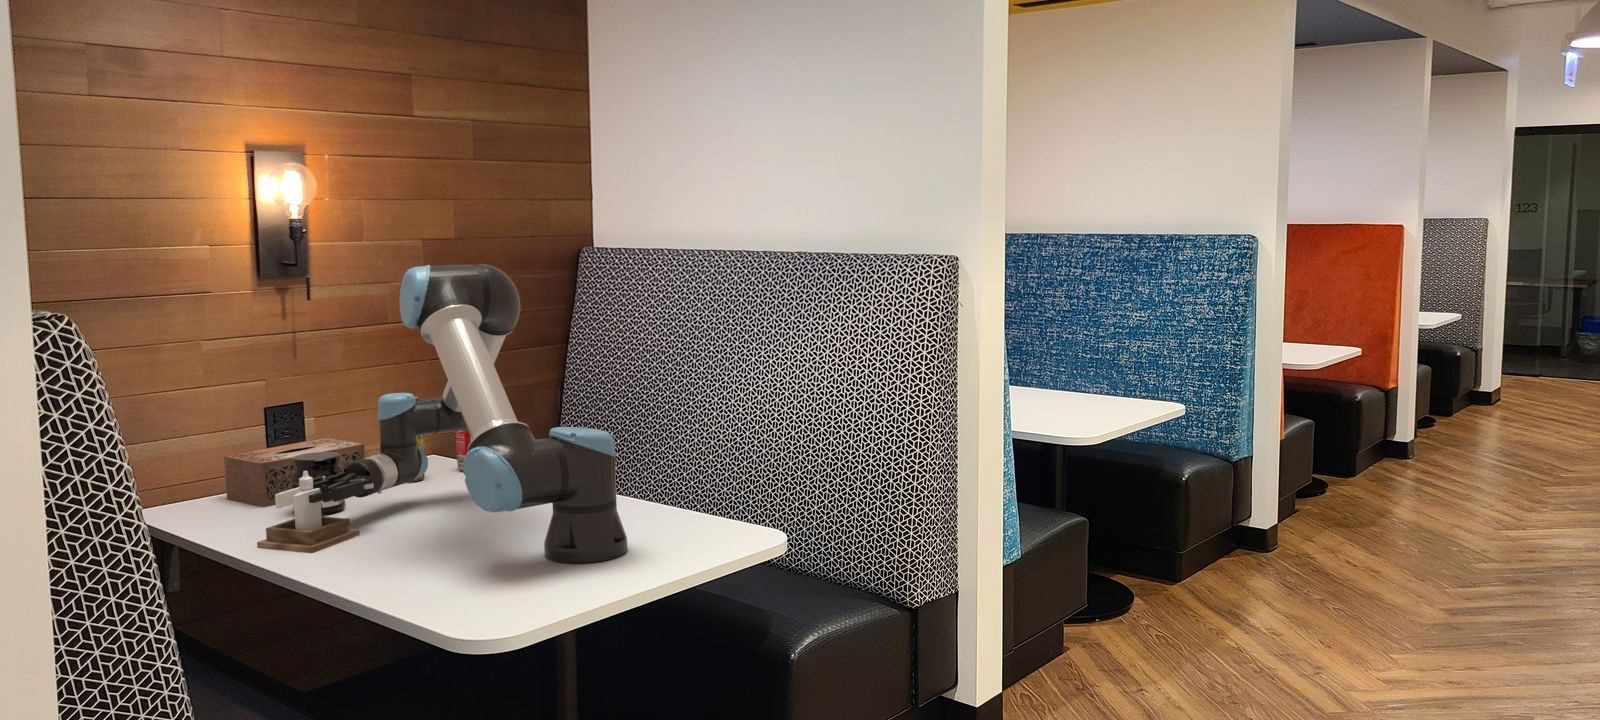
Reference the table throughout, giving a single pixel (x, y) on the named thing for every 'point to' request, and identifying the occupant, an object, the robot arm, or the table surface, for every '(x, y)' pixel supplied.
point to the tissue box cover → (277, 469)
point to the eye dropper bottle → (307, 508)
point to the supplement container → (319, 473)
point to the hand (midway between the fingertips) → (285, 502)
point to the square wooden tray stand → (308, 535)
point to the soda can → (462, 446)
